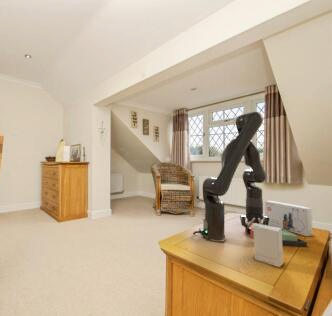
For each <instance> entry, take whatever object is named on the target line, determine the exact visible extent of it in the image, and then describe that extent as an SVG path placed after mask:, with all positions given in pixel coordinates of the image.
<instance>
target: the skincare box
mask: <svg viewBox="0 0 332 316" xmlns="http://www.w3.org/2000/svg"><path fill="white" fill-rule="evenodd" d="M264 217H268V218H269V223H268V226H272V227H278V228H281V230H286V231H288V232H290V233H293V234H296V235H297V234H298V235H301V236H305V237H312V236H313V208H312V207H307V206H302V205H297V204H291V203H286V202H281V201H274V200H264Z"/></svg>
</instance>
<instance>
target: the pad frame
mask: <svg viewBox="0 0 332 316" xmlns="http://www.w3.org/2000/svg"><path fill="white" fill-rule="evenodd" d="M282 246H285V247H286V246H289V247H304V248H306V247H308V242H306V241H305V240H303V239H302V238H299V237H297V241H286V240H282Z"/></svg>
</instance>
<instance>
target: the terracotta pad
mask: <svg viewBox="0 0 332 316" xmlns="http://www.w3.org/2000/svg"><path fill="white" fill-rule="evenodd" d="M244 233H245V234H246V235H248V234H247V233H246V227H244ZM248 236H249V237H251V238H252V239H254V229H253V226H250V235H248Z"/></svg>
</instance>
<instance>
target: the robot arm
mask: <svg viewBox="0 0 332 316" xmlns="http://www.w3.org/2000/svg"><path fill="white" fill-rule="evenodd" d="M263 121H264V117H263V114H262V113H261V112H259V111H251V112H247V113H242V114H240V115H238V116H237V117H236V119H235V127H236V131H237V135H236V136H235V137H234V138H233V139H232V140H230V141H229V142H228V143H227V144H226V146H225V148H224V149H223V151H222V154H221V157H220V161H221V169H220V172H219V173H218V176H217V177H207V178H205V179H204V180H203V182H202V200H203V203H204V218H203V221H202V223H203V228H202V227H201V228H198V230H197V231H194V232H193V233H192V235H194V236H195V235H196V234H199V235H201V236H203V237H204V238H205V239H206V240H207V241H212V242H217V243H222V242H225V240H226V234H225V233H226V232H225V228H226V227H225V226H226V225H225V222H226V221H225V203H224V201H222V200H221V199H220V197H223V196H225V195H226V194H227V193H228V191H229V189H230V186H231V183H232V180H233V178H234V175H235V173H236V171H237V169H238V167H239V165H240V163H241V161H242V159H243V160H244V165H245V166H247V167H250V169H246V170H245V171H243V173H242V181H243V184H244V188H245V190H246V191H245V193H246V194H245V195H246V196H245V215H239V219H240V223H241V226H242V227H244V228H245V227H246V233H247V234H246V233H245V234H246V235H248V236H249V235H250V227H252V226H253V224H256V225H257V224H262V225H267V226H269V225H268V223H269V218H268V217H265V216H264V215H263V214H264V201H263V189H262V188H261V187H260V186H257V185H256V184H262V183H264V182H266V180H267V172H266V171H265V168H264V167H263V165H262V162H261V154H260V150H259V148H258V146H257V145H256V143H255V142H254V140H253V138H254V136H255V135H256V134H257V133H258V131H259V129H260V128H261V126H262V124H263Z"/></svg>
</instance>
